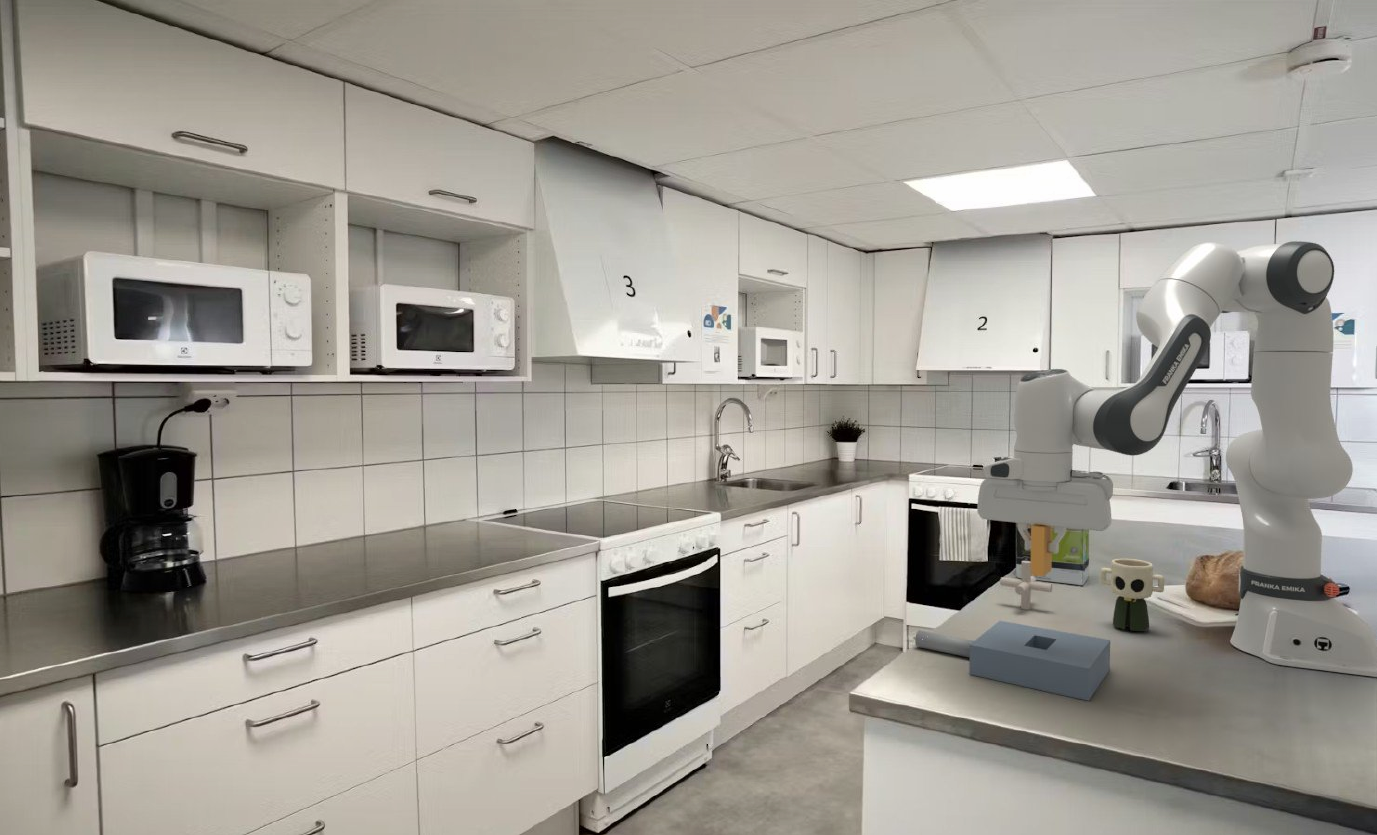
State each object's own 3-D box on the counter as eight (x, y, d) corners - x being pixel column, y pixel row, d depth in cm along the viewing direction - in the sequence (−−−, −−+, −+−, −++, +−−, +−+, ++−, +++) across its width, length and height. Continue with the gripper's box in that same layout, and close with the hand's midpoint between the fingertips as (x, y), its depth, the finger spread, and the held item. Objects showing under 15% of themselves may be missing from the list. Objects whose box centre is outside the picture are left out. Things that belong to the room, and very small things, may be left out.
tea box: (1089, 577, 192) (1090, 517, 192) (1083, 587, 184) (1084, 524, 183) (1023, 569, 201) (1024, 512, 200) (1014, 578, 193) (1015, 518, 192)
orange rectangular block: (1038, 568, 134) (1039, 521, 133) (1051, 570, 132) (1052, 523, 132) (1030, 574, 130) (1031, 526, 129) (1043, 576, 129) (1044, 527, 128)
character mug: (1095, 627, 155) (1096, 561, 154) (1104, 619, 160) (1105, 555, 159) (1159, 639, 148) (1161, 570, 147) (1166, 629, 153) (1167, 563, 152)
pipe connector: (1045, 618, 161) (1045, 569, 160) (994, 610, 167) (994, 563, 166) (1056, 606, 169) (1057, 560, 168) (1007, 599, 175) (1008, 554, 174)
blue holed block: (1109, 669, 133) (1110, 640, 132) (1088, 700, 120) (1089, 668, 120) (934, 635, 151) (934, 609, 151) (900, 659, 139) (900, 631, 138)
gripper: (1117, 470, 126) (1115, 556, 127) (986, 462, 139) (985, 540, 140) (1109, 474, 121) (1107, 563, 122) (974, 466, 134) (973, 547, 135)
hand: (1041, 551), depth 131 cm, fingers closed on orange rectangular block, 2 cm apart
